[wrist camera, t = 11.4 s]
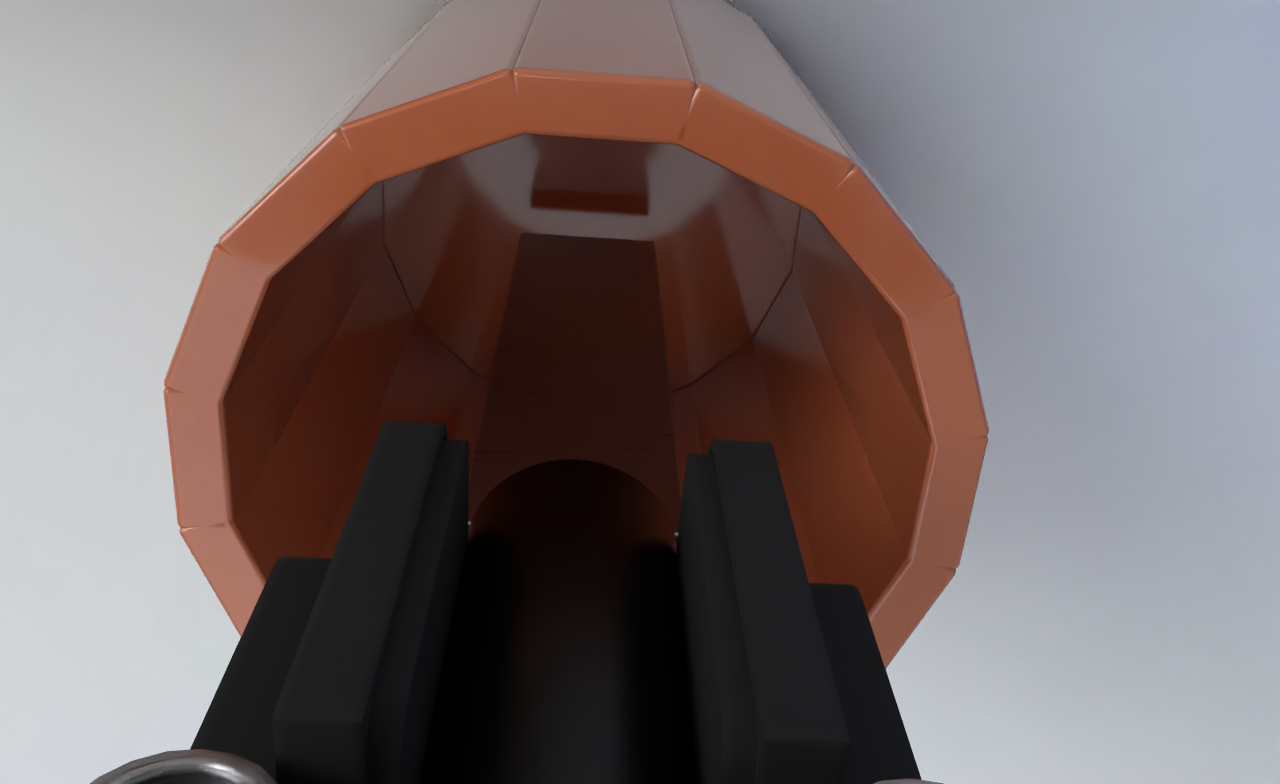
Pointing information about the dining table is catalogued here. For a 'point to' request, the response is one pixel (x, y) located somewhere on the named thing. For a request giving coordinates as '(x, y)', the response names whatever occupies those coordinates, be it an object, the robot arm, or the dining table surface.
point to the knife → (571, 539)
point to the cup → (588, 207)
